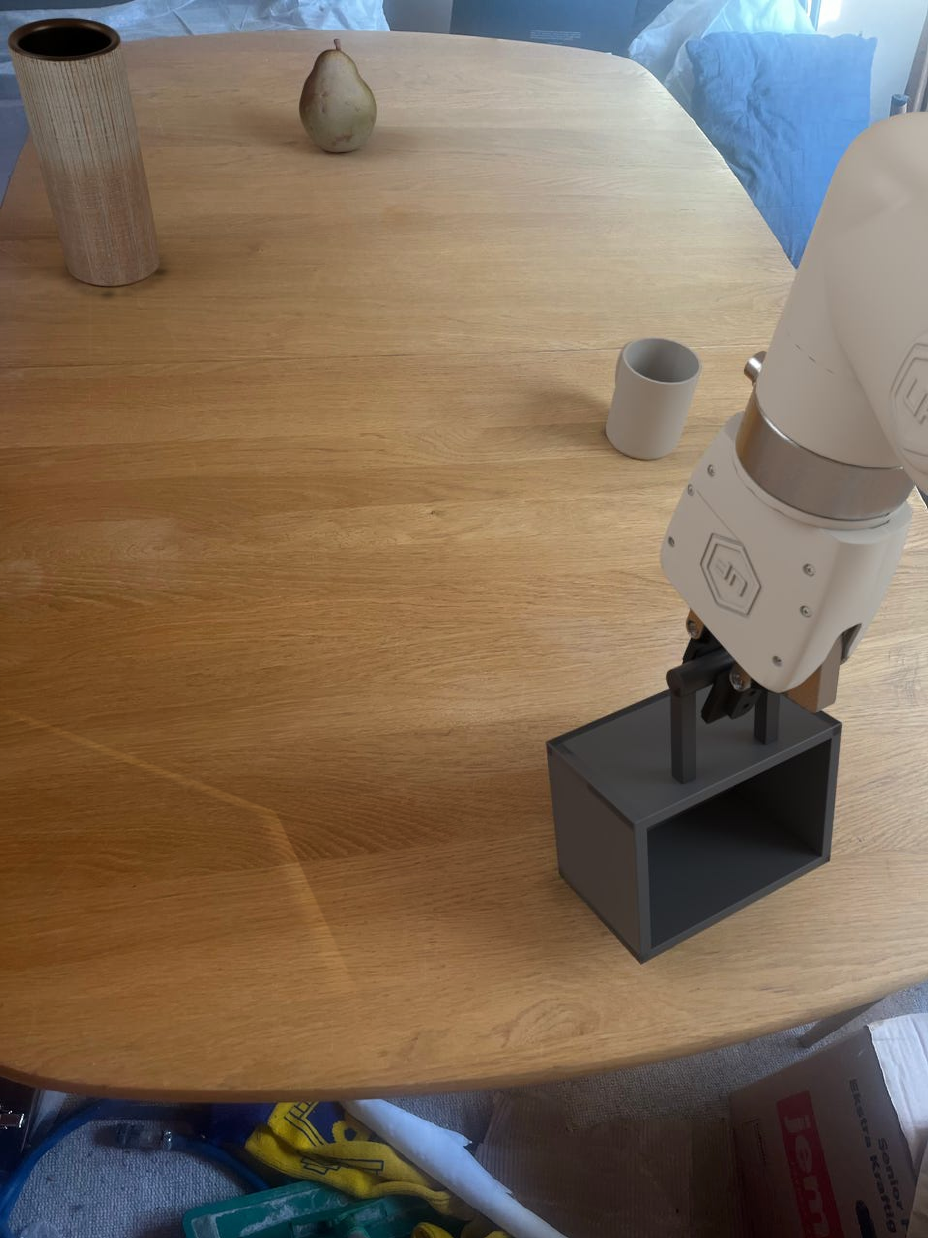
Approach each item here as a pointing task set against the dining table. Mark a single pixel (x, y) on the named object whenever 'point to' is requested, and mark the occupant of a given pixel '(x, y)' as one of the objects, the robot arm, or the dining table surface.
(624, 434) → the cup
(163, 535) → the dining table surface
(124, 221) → the planter
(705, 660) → the grey tool caddy
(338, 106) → the fruit
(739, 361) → the dining table surface
